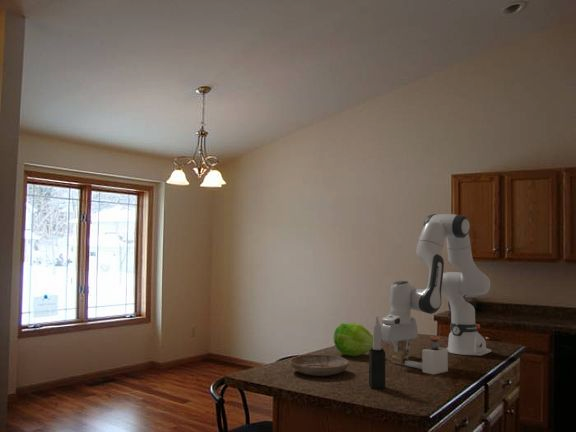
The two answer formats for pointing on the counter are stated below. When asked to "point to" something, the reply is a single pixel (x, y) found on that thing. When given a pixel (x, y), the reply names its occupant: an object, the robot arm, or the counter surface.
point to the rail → (412, 364)
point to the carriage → (400, 353)
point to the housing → (434, 360)
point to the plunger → (435, 343)
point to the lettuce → (353, 339)
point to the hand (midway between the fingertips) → (400, 350)
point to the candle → (377, 360)
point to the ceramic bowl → (319, 364)
